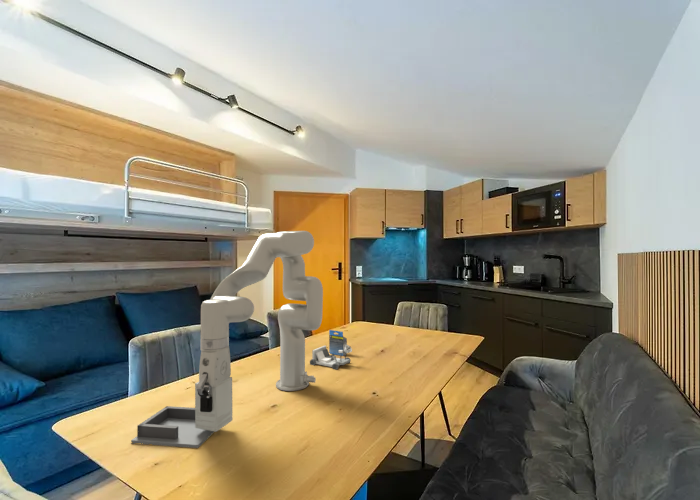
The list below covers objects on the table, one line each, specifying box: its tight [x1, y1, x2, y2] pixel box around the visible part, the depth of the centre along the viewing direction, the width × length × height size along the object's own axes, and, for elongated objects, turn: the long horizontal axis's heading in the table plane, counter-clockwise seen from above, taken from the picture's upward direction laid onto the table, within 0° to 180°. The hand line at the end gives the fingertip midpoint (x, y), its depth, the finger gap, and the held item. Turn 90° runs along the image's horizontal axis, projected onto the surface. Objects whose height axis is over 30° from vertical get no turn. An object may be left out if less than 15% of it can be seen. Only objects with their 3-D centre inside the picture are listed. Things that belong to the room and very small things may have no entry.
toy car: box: [309, 344, 353, 371], centre depth 161 cm, size 18×10×12 cm
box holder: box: [130, 405, 215, 449], centre depth 99 cm, size 19×16×4 cm
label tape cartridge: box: [328, 329, 348, 357], centre depth 178 cm, size 9×4×12 cm, turn 58°
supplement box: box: [194, 376, 233, 433], centre depth 98 cm, size 7×7×13 cm
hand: (214, 404), depth 98 cm, fingers closed on supplement box, 8 cm apart
